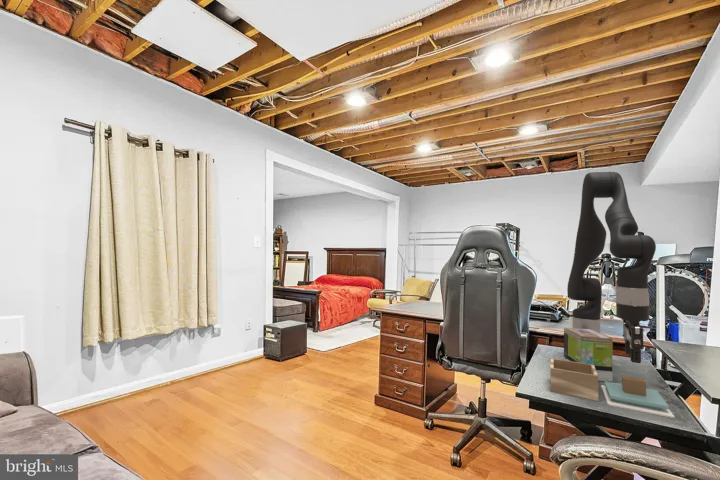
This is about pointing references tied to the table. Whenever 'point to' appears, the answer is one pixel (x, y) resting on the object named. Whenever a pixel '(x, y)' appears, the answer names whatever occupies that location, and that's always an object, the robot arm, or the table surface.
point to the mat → (636, 406)
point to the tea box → (589, 350)
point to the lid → (635, 393)
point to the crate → (574, 379)
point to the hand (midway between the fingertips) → (632, 358)
